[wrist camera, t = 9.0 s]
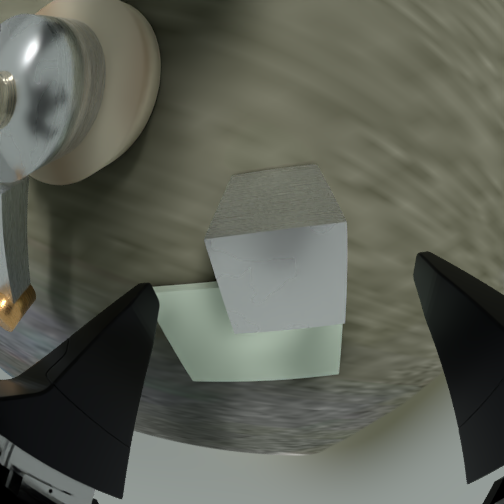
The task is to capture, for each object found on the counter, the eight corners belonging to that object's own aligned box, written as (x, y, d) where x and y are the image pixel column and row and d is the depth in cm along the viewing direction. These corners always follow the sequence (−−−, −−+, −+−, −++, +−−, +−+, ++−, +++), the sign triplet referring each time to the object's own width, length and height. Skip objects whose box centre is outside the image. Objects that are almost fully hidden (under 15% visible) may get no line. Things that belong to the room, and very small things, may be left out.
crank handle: (28, 15, 6) (-40, 17, 2) (131, 29, 7) (55, 12, 3) (2, 268, 15) (-33, 307, 11) (69, 312, 16) (38, 363, 12)
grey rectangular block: (317, 163, 12) (346, 222, 7) (323, 238, 15) (345, 323, 9) (231, 175, 13) (203, 239, 8) (247, 247, 15) (234, 333, 10)
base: (144, -31, 7) (126, -43, 5) (181, 144, 12) (166, 154, 11) (11, 54, 9) (-11, 57, 7) (43, 190, 14) (23, 203, 12)
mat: (342, 267, 15) (344, 274, 15) (337, 367, 21) (338, 373, 20) (146, 287, 17) (143, 293, 17) (194, 375, 22) (192, 381, 22)
